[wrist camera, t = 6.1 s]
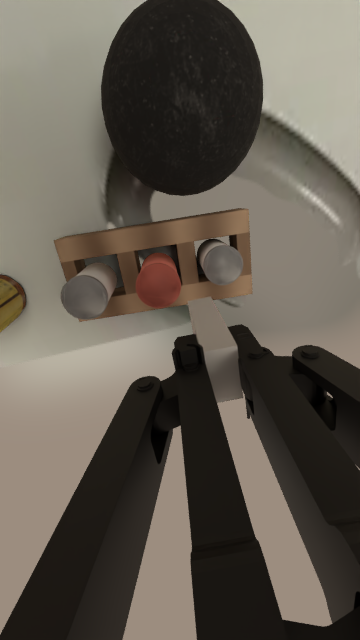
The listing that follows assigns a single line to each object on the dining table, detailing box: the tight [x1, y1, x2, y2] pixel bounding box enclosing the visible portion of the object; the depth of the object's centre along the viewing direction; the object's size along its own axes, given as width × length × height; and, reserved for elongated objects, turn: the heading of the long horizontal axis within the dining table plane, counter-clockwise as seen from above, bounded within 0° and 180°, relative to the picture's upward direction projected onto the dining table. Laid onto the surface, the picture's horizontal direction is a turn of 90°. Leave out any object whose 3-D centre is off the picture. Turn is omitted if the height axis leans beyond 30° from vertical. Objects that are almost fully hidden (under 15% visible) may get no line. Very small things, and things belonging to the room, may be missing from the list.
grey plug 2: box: [197, 239, 243, 285], centre depth 33 cm, size 4×4×7 cm
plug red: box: [136, 253, 181, 308], centre depth 29 cm, size 4×4×7 cm
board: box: [54, 208, 252, 322], centre depth 35 cm, size 22×10×4 cm, turn 99°
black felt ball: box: [101, 0, 263, 196], centre depth 24 cm, size 13×13×15 cm
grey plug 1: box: [61, 262, 117, 320], centre depth 29 cm, size 4×4×7 cm
